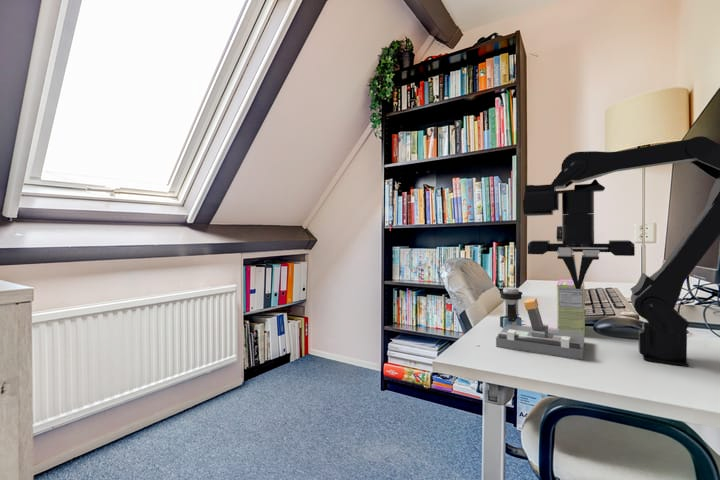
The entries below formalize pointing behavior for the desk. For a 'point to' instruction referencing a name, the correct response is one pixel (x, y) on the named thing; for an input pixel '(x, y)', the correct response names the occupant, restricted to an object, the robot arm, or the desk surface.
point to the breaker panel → (542, 341)
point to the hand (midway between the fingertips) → (578, 288)
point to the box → (570, 307)
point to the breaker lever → (534, 314)
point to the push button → (510, 307)
